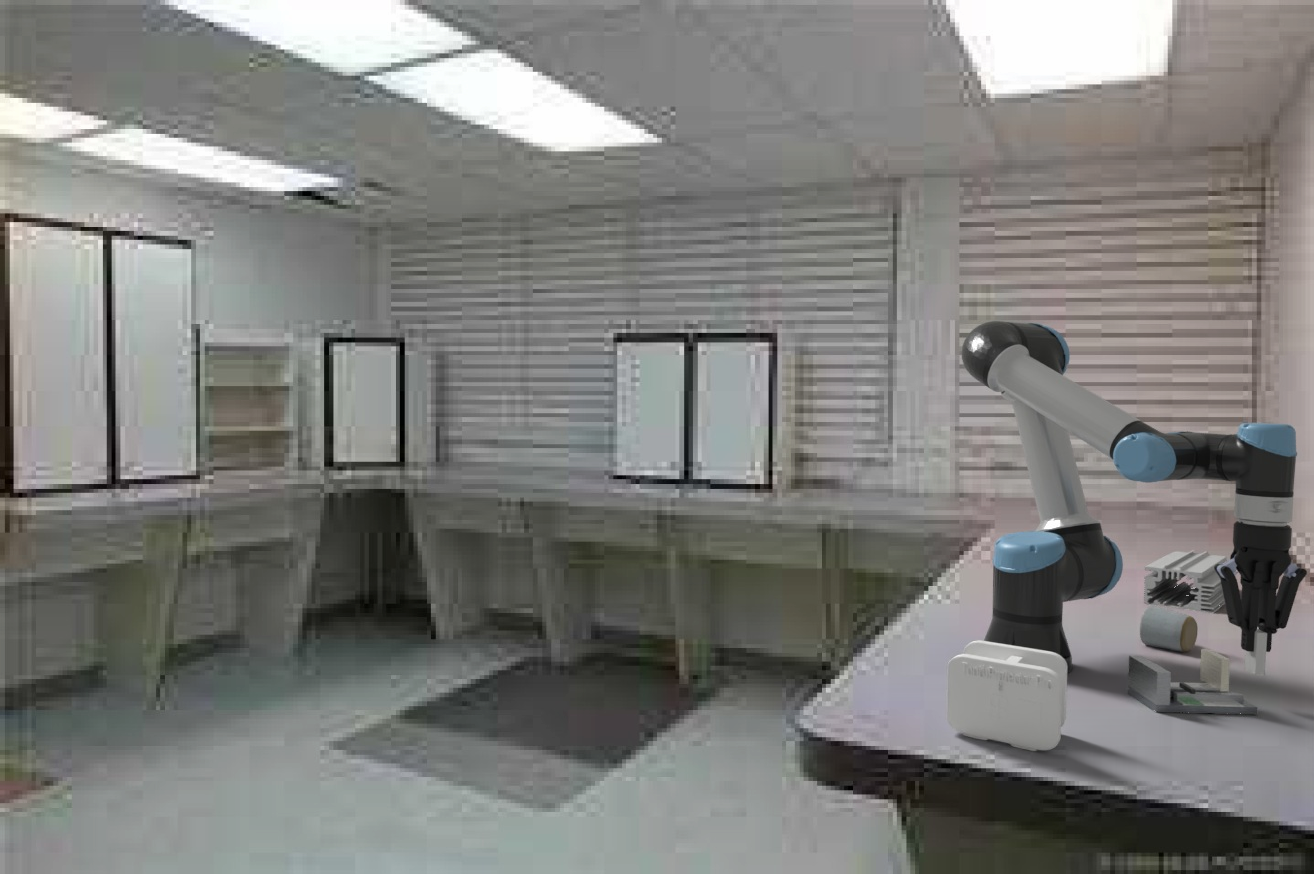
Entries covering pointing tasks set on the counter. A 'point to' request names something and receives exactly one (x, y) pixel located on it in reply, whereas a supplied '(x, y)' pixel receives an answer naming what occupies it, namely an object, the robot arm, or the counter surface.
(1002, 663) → the cable organizer
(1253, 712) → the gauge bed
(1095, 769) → the counter surface
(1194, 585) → the aluminum extrusion profile
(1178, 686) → the sliding gauge carriage
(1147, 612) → the grey tan cylinder
